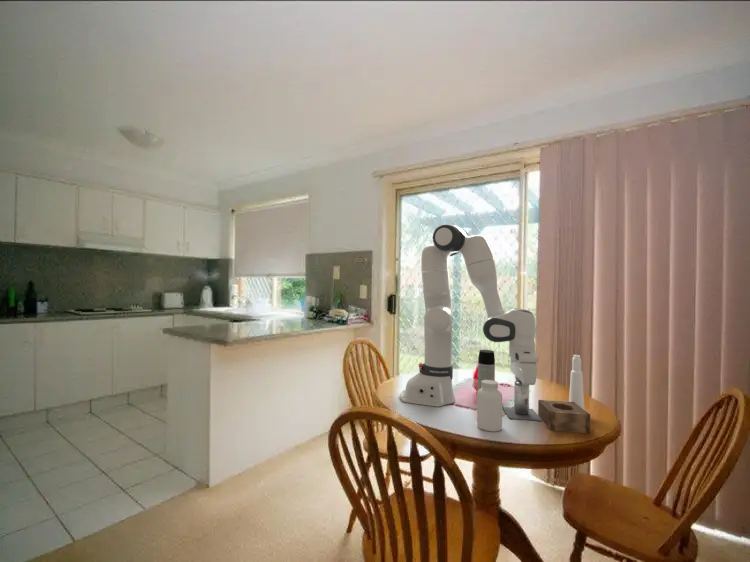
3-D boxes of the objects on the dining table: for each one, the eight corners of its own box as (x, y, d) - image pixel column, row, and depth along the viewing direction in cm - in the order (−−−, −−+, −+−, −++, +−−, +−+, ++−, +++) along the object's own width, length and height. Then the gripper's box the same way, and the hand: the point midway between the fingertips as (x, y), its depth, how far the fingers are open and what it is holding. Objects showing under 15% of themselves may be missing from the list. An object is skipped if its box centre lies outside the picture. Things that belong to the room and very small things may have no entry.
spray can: (494, 397, 143) (494, 350, 143) (494, 402, 136) (495, 353, 137) (477, 395, 145) (478, 348, 145) (477, 400, 138) (477, 351, 139)
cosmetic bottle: (570, 410, 129) (570, 352, 129) (588, 415, 124) (588, 355, 125) (564, 414, 125) (564, 354, 125) (582, 419, 120) (583, 357, 120)
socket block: (550, 430, 111) (550, 411, 111) (538, 416, 123) (538, 399, 123) (590, 433, 109) (590, 414, 109) (573, 418, 121) (573, 402, 121)
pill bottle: (477, 420, 118) (478, 377, 118) (502, 424, 115) (503, 380, 115) (475, 429, 110) (476, 383, 111) (501, 434, 107) (502, 386, 107)
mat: (509, 418, 120) (509, 417, 120) (502, 407, 131) (502, 406, 131) (542, 421, 118) (542, 420, 118) (532, 409, 129) (532, 408, 129)
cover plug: (516, 414, 122) (516, 384, 122) (512, 409, 127) (513, 380, 127) (530, 415, 122) (531, 384, 122) (526, 410, 126) (527, 381, 127)
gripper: (506, 347, 135) (505, 381, 135) (520, 358, 115) (520, 398, 115) (522, 348, 134) (522, 382, 134) (540, 358, 114) (539, 400, 114)
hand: (521, 390), depth 124 cm, fingers closed on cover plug, 5 cm apart
